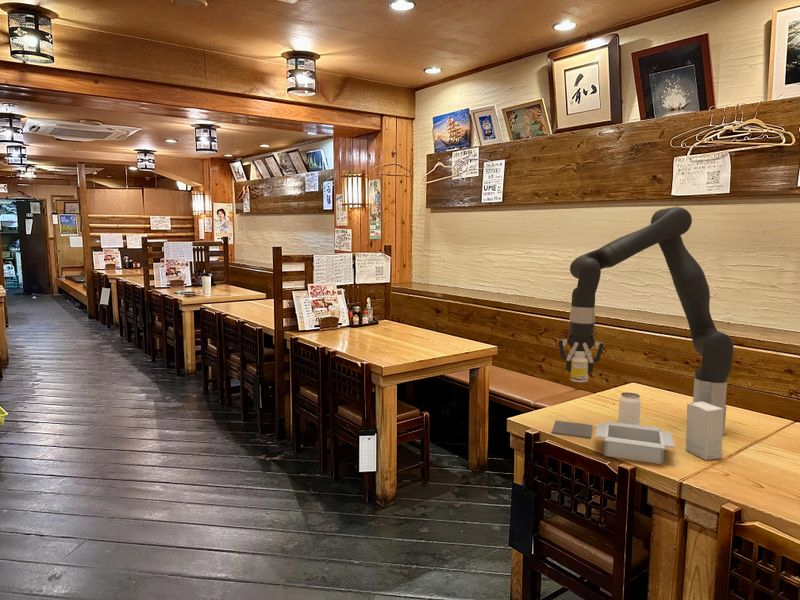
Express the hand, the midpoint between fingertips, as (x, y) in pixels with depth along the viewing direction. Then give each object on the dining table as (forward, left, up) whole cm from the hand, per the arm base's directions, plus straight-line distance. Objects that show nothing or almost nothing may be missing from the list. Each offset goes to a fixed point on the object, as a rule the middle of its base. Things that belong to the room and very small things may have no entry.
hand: (579, 372), depth 178 cm
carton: (-17, +11, -20) cm, 28 cm away
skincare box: (-36, +5, -20) cm, 41 cm away
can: (-16, -8, -20) cm, 27 cm away
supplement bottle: (0, 0, -3) cm, 3 cm away
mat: (+1, -1, -20) cm, 20 cm away
